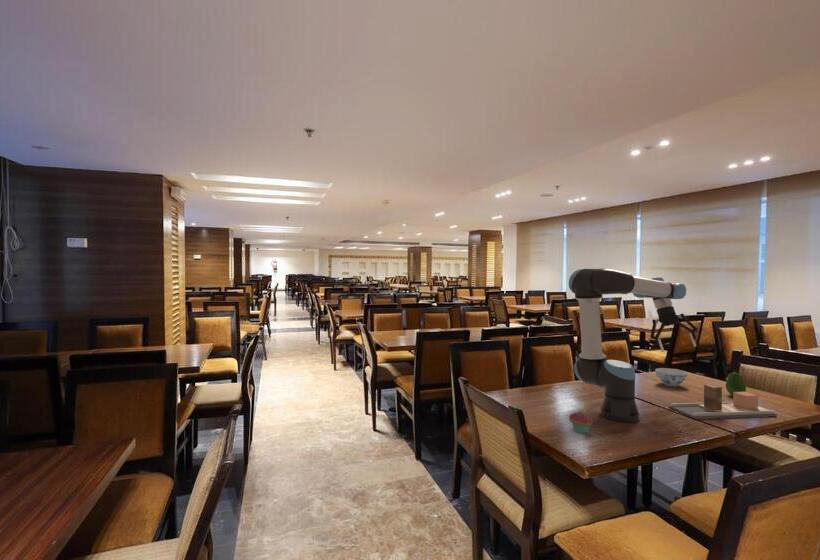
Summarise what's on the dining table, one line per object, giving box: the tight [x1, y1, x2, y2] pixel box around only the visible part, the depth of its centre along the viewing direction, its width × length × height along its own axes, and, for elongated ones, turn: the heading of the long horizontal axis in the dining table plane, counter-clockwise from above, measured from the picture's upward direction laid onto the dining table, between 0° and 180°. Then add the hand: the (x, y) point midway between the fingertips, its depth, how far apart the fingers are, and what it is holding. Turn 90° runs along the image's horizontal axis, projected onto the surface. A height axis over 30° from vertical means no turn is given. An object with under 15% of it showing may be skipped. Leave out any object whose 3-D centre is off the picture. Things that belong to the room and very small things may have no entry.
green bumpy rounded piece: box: [725, 371, 747, 396], centre depth 199 cm, size 8×8×12 cm
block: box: [732, 391, 759, 409], centre depth 176 cm, size 6×6×6 cm
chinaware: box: [654, 367, 688, 387], centre depth 220 cm, size 15×15×8 cm
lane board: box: [668, 401, 778, 420], centre depth 175 cm, size 38×15×2 cm, turn 95°
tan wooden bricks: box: [698, 383, 769, 412], centre depth 175 cm, size 26×10×11 cm, turn 95°
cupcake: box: [568, 402, 594, 434], centre depth 153 cm, size 9×8×12 cm
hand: (678, 349), depth 191 cm, fingers open, 13 cm apart
